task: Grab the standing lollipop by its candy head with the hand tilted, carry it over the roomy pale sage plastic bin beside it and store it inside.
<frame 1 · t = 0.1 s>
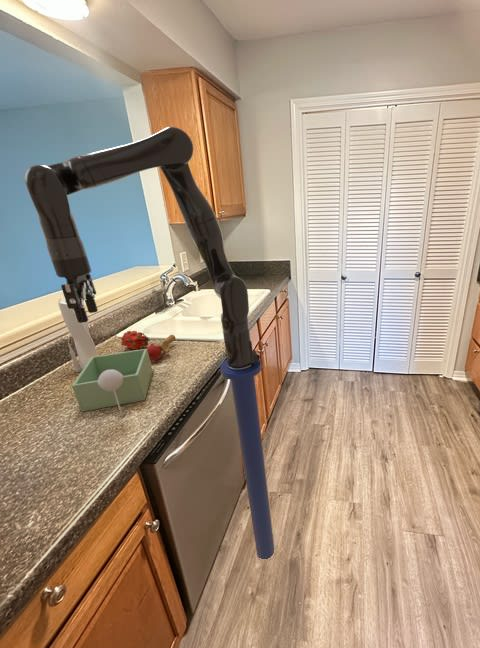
hand: (88, 316, 87), 29 cm above the countertop, tool pointing down, fingers open, 8 cm apart
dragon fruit: (137, 348, 137), on the countertop
kendama: (163, 351, 131), point 1 cm above the countertop
bin: (120, 389, 107), on the countertop
lollipop: (122, 416, 93), on the countertop
skyscraper: (90, 366, 124), on the countertop
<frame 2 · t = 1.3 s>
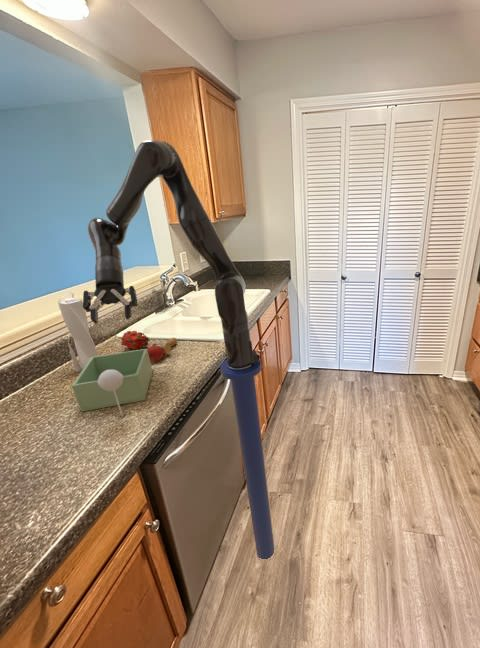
hand: (111, 320, 96), 25 cm above the countertop, tool tilted 45°, fingers open, 8 cm apart
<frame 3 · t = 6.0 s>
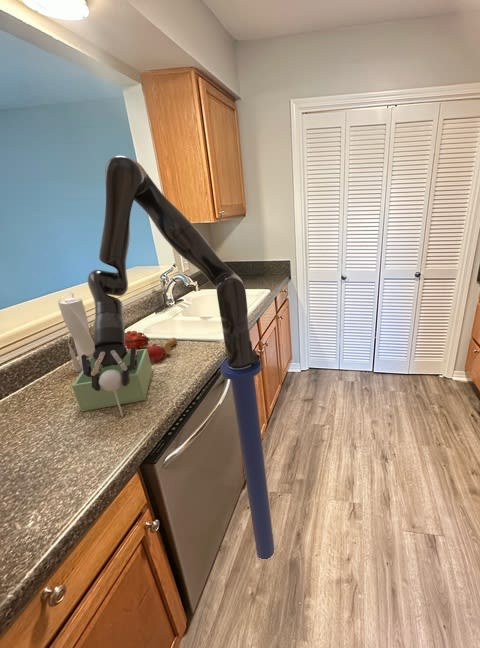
hand: (111, 387, 87), 11 cm above the countertop, tool tilted 45°, fingers closed on lollipop, 6 cm apart
lollipop: (122, 416, 93), on the countertop, touching gripper
everything else where it was.
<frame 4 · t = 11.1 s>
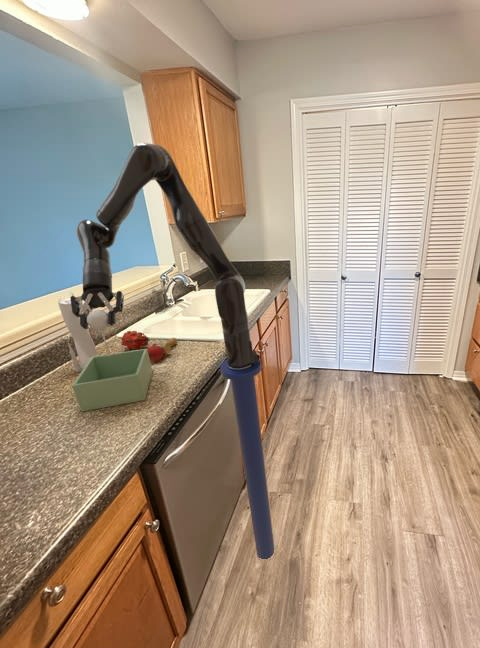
hand: (98, 326, 93), 24 cm above the countertop, tool tilted 45°, fingers closed on lollipop, 6 cm apart
lollipop: (109, 357, 100), point 13 cm above the countertop, touching gripper
everything else where it was.
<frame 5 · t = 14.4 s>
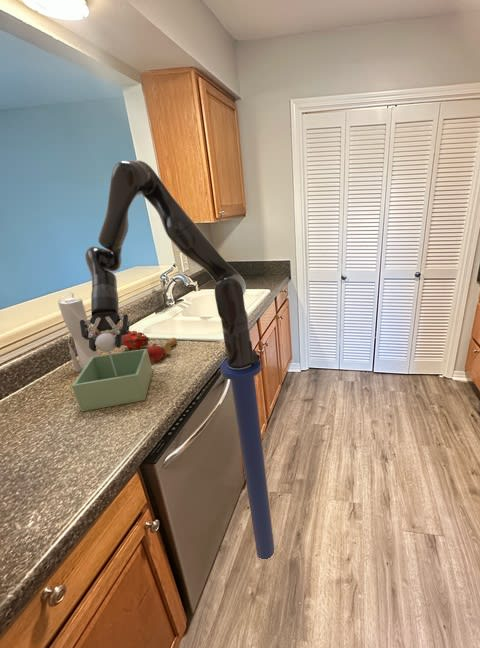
hand: (106, 348, 99), 16 cm above the countertop, tool tilted 45°, fingers closed on lollipop, 6 cm apart
lollipop: (116, 376, 105), point 5 cm above the countertop, touching gripper
everything else where it was.
when the fingers open (12 cm above the countertop, at t = 16.3 s): lollipop stays where it is, resting on bin.
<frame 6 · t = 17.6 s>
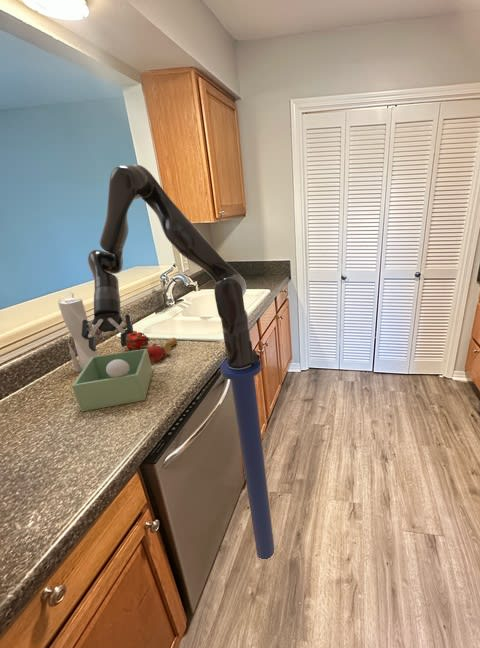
hand: (108, 348, 102), 15 cm above the countertop, tool tilted 45°, fingers open, 8 cm apart
lollipop: (120, 385, 107), point 1 cm above the countertop, touching bin
everything else where it was.
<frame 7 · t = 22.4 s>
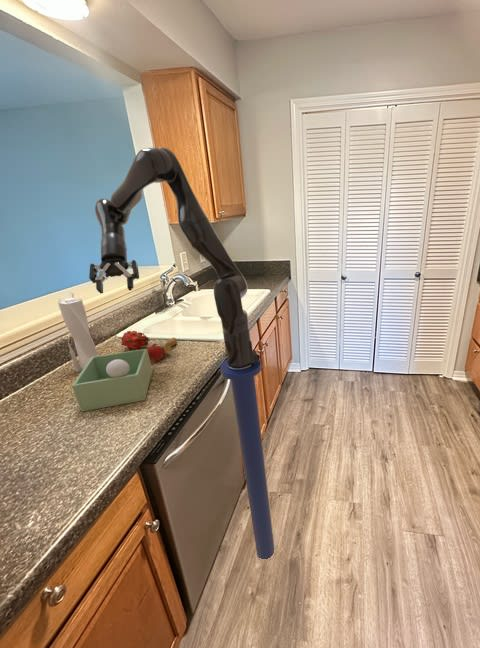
hand: (115, 290, 104), 31 cm above the countertop, tool tilted 45°, fingers open, 8 cm apart
nothing on the countertop moved.
at the end: lollipop inside the target area in the bin (0.9 cm from its centre), point 1.0 cm above the bin's base; the gripper is holding nothing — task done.
